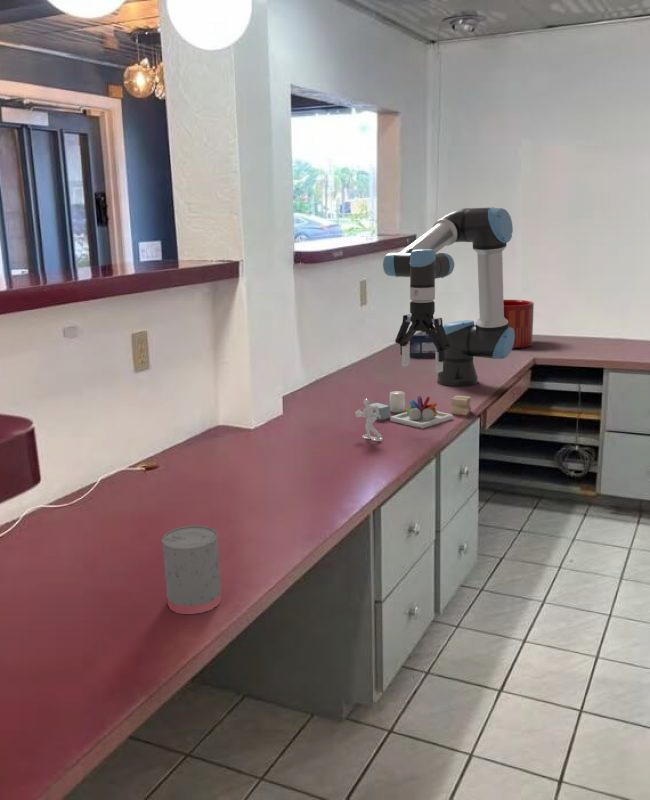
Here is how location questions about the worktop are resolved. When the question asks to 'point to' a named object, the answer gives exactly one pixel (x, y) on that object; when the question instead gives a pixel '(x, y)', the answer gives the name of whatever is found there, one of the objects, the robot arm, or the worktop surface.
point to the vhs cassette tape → (422, 347)
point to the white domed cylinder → (397, 401)
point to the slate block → (382, 410)
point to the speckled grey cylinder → (191, 565)
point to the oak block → (460, 405)
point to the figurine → (370, 420)
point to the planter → (520, 321)
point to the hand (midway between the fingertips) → (422, 369)
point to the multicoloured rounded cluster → (422, 410)
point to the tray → (421, 420)
